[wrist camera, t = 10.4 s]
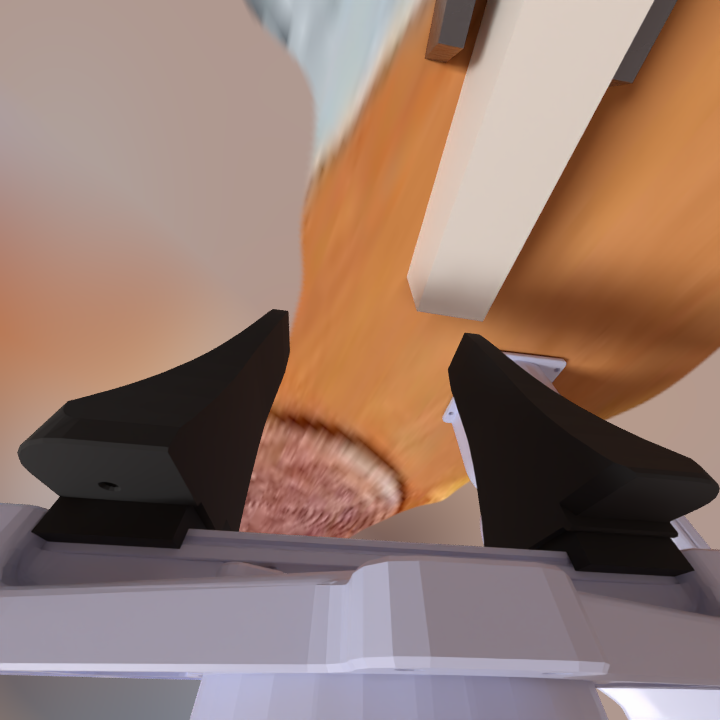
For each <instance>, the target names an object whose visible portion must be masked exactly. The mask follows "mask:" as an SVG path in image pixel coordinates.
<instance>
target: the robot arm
mask: <svg viewBox="0 0 720 720" xmlns="http://www.w3.org/2000/svg"><path fill="white" fill-rule="evenodd" d="M289 353H290V343H289V316H288V311H284V310H276V309H272V310H271V311H269V312H268V313H267V314H265V315H264V316H263V317H261V318H260V319H259V320H257V321H256V322H255V323H253V324H252V325H251V326H249V327H248V328H246V329H245V330H244V331H242V332H241V333H239V334H238V335H236V336H234V337H233V338H232V339H230V340H228V341H227V342H225V343H223V344H222V345H220V346H218V347H217V348H215V349H213V350H211V351H210V352H208V353H206V354H204V355H202V356H200V357H198V358H196V359H194V360H192V361H189V362H187V363H185V364H182V365H180V366H177V367H175V368H173V369H171V370H168V371H166V372H164V373H161V374H158V375H155V376H152V377H150V378H147V379H144V380H141V381H138V382H135V383H132V384H129V385H125V386H122V387H119V388H116V389H112V390H109V391H105V392H101V393H97V394H94V395H90V396H86V397H82V398H79V399H75V400H71V401H68V402H67V403H66V404H65V405H63V406H62V407H61V408H60V409H59V410H58V411H57V412H56V413H55V414H54V415H53V416H52V417H51V418H49V419H48V420H47V421H46V422H45V423H44V424H43V425H42V426H41V427H40V428H38V429H37V430H36V431H35V432H34V433H33V434H32V435H31V436H30V437H29V438H28V439H27V440H25V441H24V442H23V443H22V444H21V445H20V447H19V450H18V452H17V453H18V456H19V459H20V462H21V464H22V465H23V466H24V467H25V468H26V469H27V470H28V471H29V472H30V473H31V474H32V475H34V476H35V477H36V478H38V479H39V480H40V481H41V482H42V483H44V484H45V485H46V486H47V487H49V488H50V489H51V490H52V491H54V492H55V493H56V494H57V495H59V496H60V497H59V498H58V500H57V501H56V502H55V503H54V504H53V506H52V507H51V508H50V509H49V510H47V509H46V508H42V507H39V506H33V505H25V504H24V505H23V504H8V503H0V675H36V676H38V675H39V676H74V677H111V678H112V677H113V678H147V679H184V680H185V679H186V680H201V683H200V687H199V690H198V693H197V697H196V700H195V704H194V707H193V710H192V714H191V717H190V720H608V718H607V715H606V713H605V710H604V708H603V705H602V703H601V701H600V698H599V696H598V693H597V691H596V689H595V688H597V689H599V690H600V691H602V692H603V693H604V694H606V695H607V696H608V697H610V698H611V699H612V700H614V701H615V702H616V703H617V704H618V705H620V706H621V708H622V709H623V711H624V713H625V715H626V716H627V718H628V720H720V550H716V549H715V550H714V549H711V548H710V547H709V546H708V544H707V543H706V542H705V541H704V539H703V538H702V537H701V536H700V534H699V533H698V532H697V531H696V530H695V528H694V527H693V526H692V525H691V523H690V522H689V521H688V520H687V519H686V517H685V516H684V515H686V514H688V513H690V512H692V511H694V510H697V509H699V508H701V507H702V506H704V505H706V504H708V503H710V502H711V501H712V500H713V499H715V498H716V496H717V495H718V493H719V489H720V488H719V485H718V484H717V483H716V482H715V480H714V479H713V478H712V477H711V476H710V475H709V474H708V473H707V472H705V470H704V469H703V468H702V467H701V466H700V465H698V464H697V463H696V462H695V461H693V460H692V459H691V458H688V457H686V456H683V455H681V454H678V453H676V452H674V451H671V450H669V449H666V448H664V447H662V446H659V445H657V444H654V443H652V442H649V441H647V440H645V439H642V438H640V437H638V436H636V435H634V434H632V433H630V432H628V431H626V430H623V429H621V428H619V427H617V426H615V425H613V424H611V423H609V422H607V421H605V420H603V419H601V418H599V417H597V416H596V415H594V414H592V413H590V412H588V411H587V410H585V409H583V408H581V407H579V406H578V405H576V404H574V403H572V402H571V401H569V400H567V399H566V398H564V397H563V396H561V395H560V394H559V393H558V391H557V390H556V388H555V387H554V386H553V384H552V382H553V381H554V380H555V378H556V377H557V376H558V375H559V374H560V372H561V371H562V370H563V369H564V367H565V366H566V362H565V360H564V359H560V358H551V357H543V356H534V355H526V354H518V353H509V352H501V351H500V350H499V349H498V348H497V347H495V346H494V345H493V344H492V343H490V342H489V341H488V340H486V339H485V338H484V337H482V336H481V335H479V334H471V333H464V335H463V338H462V340H461V342H460V344H459V346H458V348H457V351H456V353H455V355H454V357H453V359H452V362H451V364H450V366H449V368H448V373H449V380H450V386H451V391H452V394H453V397H452V399H451V401H450V403H449V405H448V407H447V409H446V411H445V413H444V415H443V417H442V418H443V421H444V422H447V423H452V425H453V428H454V431H455V435H456V438H457V442H458V445H459V448H460V452H461V455H462V458H463V462H464V465H465V469H466V472H467V474H468V476H469V478H470V480H471V482H472V483H473V484H474V486H475V487H476V488H477V491H478V498H479V505H480V512H481V516H480V529H481V535H482V540H483V543H484V547H478V546H463V545H446V544H429V543H413V542H397V541H381V540H365V539H349V538H333V537H316V536H300V535H284V534H268V533H251V532H239V528H240V523H241V519H242V514H243V509H244V505H245V500H246V496H247V492H248V488H249V483H250V479H251V475H252V471H253V467H254V463H255V459H256V455H257V451H258V447H259V444H260V440H261V436H262V433H263V429H264V426H265V423H266V420H267V417H268V414H269V412H270V409H271V407H272V404H273V402H274V399H275V396H276V394H277V391H278V389H279V386H280V384H281V381H282V379H283V376H284V373H285V370H286V366H287V362H288V357H289ZM284 573H287V574H284Z"/></svg>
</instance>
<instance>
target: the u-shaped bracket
mask: <svg viewBox="0 0 720 720" xmlns="http://www.w3.org/2000/svg"><path fill="white" fill-rule="evenodd" d="M475 1H476V0H436V3H435V8H434V14H433V19H432V24H431V29H430V34H429V39H428V44H427V49H426V55H425V59H430V60H435V61H440V62H445V63H446V62H447V61H449V60H450V59H451V58H452V57H454V56H455V55H456V54H457V53H458V52H460V51H461V50H462V49H463V48H464V45H465V41H466V37H467V33H468V29H469V25H470V21H471V17H472V13H473V9H474V5H475ZM676 2H677V0H654V2H653V4H652V5H651V7H650V9H649V11H648V13H647V15H646V17H645V19H644V20H643V22H642V24H641V26H640V28H639V30H638V32H637V34H636V35H635V37H634V39H633V41H632V43H631V45H630V47H629V49H628V50H627V52H626V54H625V56H624V58H623V60H622V62H621V64H620V65H619V67H618V69H617V71H616V73H615V75H614V77H613V78H612V80H611V82H610V84H609V86H608V87H612V86H618V85H624V84H630V83H633V81H634V79H635V77H636V75H637V73H638V72H639V70H640V68H641V66H642V64H643V62H644V61H645V59H646V57H647V55H648V53H649V51H650V50H651V48H652V46H653V44H654V42H655V40H656V39H657V37H658V35H659V33H660V31H661V29H662V28H663V26H664V24H665V22H666V20H667V18H668V17H669V15H670V13H671V11H672V9H673V7H674V6H675V4H676Z"/></svg>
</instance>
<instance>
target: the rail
mask: <svg viewBox="0 0 720 720" xmlns="http://www.w3.org/2000/svg"><path fill="white" fill-rule="evenodd" d="M653 2H654V0H488V1H487V4H486V8H485V11H484V15H483V18H482V21H481V25H480V28H479V32H478V35H477V39H476V42H475V45H474V49H473V52H472V56H471V59H470V62H469V66H468V69H467V73H466V76H465V80H464V83H463V86H462V90H461V93H460V97H459V100H458V104H457V107H456V110H455V114H454V117H453V121H452V124H451V128H450V131H449V134H448V138H447V141H446V145H445V148H444V152H443V155H442V158H441V162H440V165H439V169H438V172H437V176H436V179H435V182H434V186H433V189H432V193H431V196H430V200H429V203H428V206H427V210H426V213H425V217H424V220H423V223H422V227H421V230H420V234H419V237H418V241H417V244H416V247H415V251H414V254H413V258H412V261H411V265H410V268H409V271H408V275H407V279H408V282H409V285H410V289H411V292H412V296H413V299H414V302H415V306H416V309H417V311H420V312H426V313H432V314H439V315H445V316H451V317H458V318H464V319H470V320H477V321H483V320H484V318H485V316H486V315H487V313H488V311H489V309H490V307H491V305H492V303H493V301H494V300H495V298H496V296H497V294H498V292H499V290H500V288H501V286H502V285H503V283H504V281H505V279H506V277H507V275H508V273H509V271H510V270H511V268H512V266H513V264H514V262H515V260H516V258H517V256H518V255H519V253H520V251H521V249H522V247H523V245H524V243H525V241H526V240H527V238H528V236H529V234H530V232H531V230H532V228H533V226H534V225H535V223H536V221H537V219H538V217H539V215H540V213H541V211H542V210H543V208H544V206H545V204H546V202H547V200H548V198H549V197H550V195H551V193H552V191H553V189H554V187H555V185H556V183H557V182H558V180H559V178H560V176H561V174H562V172H563V170H564V168H565V167H566V165H567V163H568V161H569V159H570V157H571V155H572V153H573V152H574V150H575V148H576V146H577V144H578V142H579V140H580V138H581V137H582V135H583V133H584V131H585V129H586V127H587V125H588V123H589V122H590V120H591V118H592V116H593V114H594V112H595V110H596V108H597V107H598V105H599V103H600V101H601V99H602V97H603V95H604V93H605V92H606V90H607V88H608V86H609V84H610V82H611V80H612V78H613V77H614V75H615V73H616V71H617V69H618V67H619V65H620V64H621V62H622V60H623V58H624V56H625V54H626V52H627V50H628V49H629V47H630V45H631V43H632V41H633V39H634V37H635V35H636V34H637V32H638V30H639V28H640V26H641V24H642V22H643V20H644V19H645V17H646V15H647V13H648V11H649V9H650V7H651V5H652V4H653Z"/></svg>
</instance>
